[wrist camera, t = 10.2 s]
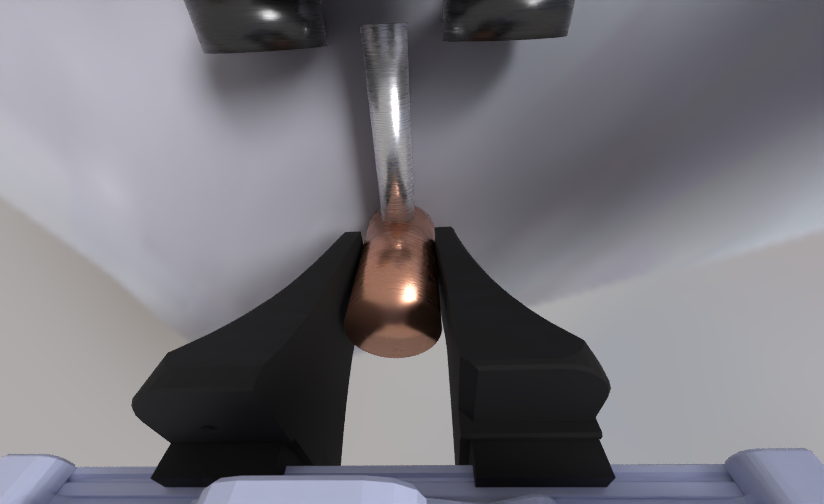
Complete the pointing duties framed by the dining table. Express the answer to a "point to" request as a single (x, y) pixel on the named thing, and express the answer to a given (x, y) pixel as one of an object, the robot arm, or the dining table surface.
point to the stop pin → (393, 218)
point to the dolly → (304, 27)
